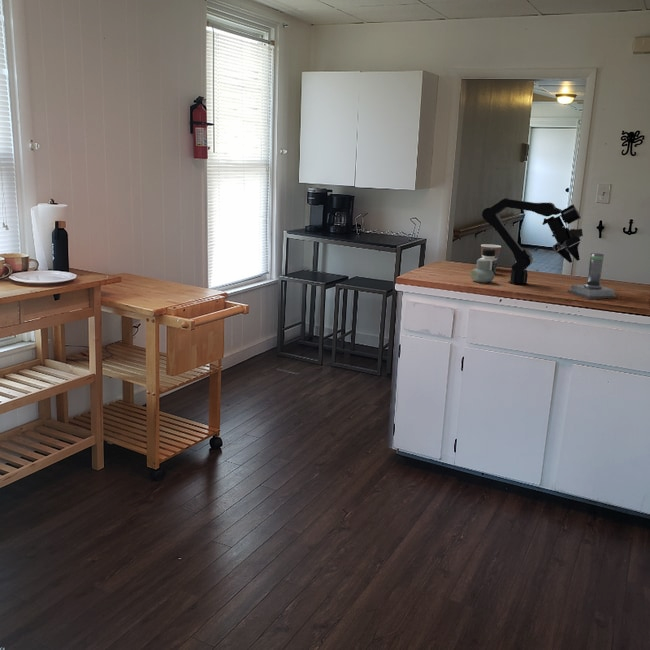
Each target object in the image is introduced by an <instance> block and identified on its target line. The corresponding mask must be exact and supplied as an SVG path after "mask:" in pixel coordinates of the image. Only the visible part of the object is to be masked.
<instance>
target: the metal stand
mask: <svg viewBox="0 0 650 650" xmlns="http://www.w3.org/2000/svg"><path fill="white" fill-rule="evenodd" d="M615 291H616V289H615V288H614V289H613V288H610V287H608V286H607V287H606V286H603V285H602V288H600V289H594V288H587V287H584V284H571V289H568V290H567V293H568V292H569V293H568V294H571V293H572V294H571V295H574V294H575V295H574V296H577V295H578V297H580V296H581V298H583V297H584V299H587V298H588V299H587V300H604V298H616V299H618V295H615ZM602 298H603V299H602Z"/></svg>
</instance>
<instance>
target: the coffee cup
mask: <svg viewBox="0 0 650 650" xmlns="http://www.w3.org/2000/svg"><path fill="white" fill-rule="evenodd" d="M480 246H481V247H480V251H481V253H480V255H481V256H480V258H483V257H482V251H483V249H485V248H489V249H494V250H495V259H497V264H498V263H499V262H498V261H499V259H500V253H501V250H502V249H501V248H502V246H501V245H499V244H491V243H490V244H487V243H485V244H484V243H483V244H480Z"/></svg>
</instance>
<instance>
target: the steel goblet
mask: <svg viewBox="0 0 650 650" xmlns="http://www.w3.org/2000/svg"><path fill="white" fill-rule="evenodd" d="M604 256H605V254H604V253H600V252H591V253H590V258H589V267H588V273H587V282H586V283H584V284H583V285H584V287H587V288H594V289H600V288H602V286H603V285H602V284H601V277H602V273H603V272H602V270H603V265H604V264H603V263H604Z"/></svg>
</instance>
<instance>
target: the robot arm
mask: <svg viewBox="0 0 650 650" xmlns="http://www.w3.org/2000/svg"><path fill="white" fill-rule="evenodd" d="M506 208H510V209H516V210H522V211H528V212H532V213H536V214H537V215H540V216H543V217H548V218H543V222H542V225H546V224H547V226H548V227H549V229H550V231H551V233H552V235H551V237H552V238H554V239H555V240H556V242H557V243H555V244H553V245H552V250H553V252H554V253H556V254H557V255H559V256H560V257H562V258H563V259H564V260H566V261H567V262H568V263H569V264H570V263H572V262H573V259H575V260H576V262H578V261H579V260H580V259H581V258H580V253H579V249H578V247H579V245H580V244H581V241H582V240H581V237H583V236H584V234H583V228H577V229H576V228H573V229H572V228H569V227H566V225H565V224H568V225H570V224H572V223H574V222H575V221H578V220H580V219H582V216H581V214H580V212H579V210H577V208H576V206H575V204H574V203H573V204H571V205H569V206H567V207H566V208H564V209H561V208H558V207H556V204H555V203H553V202H532V201H524V200H519V199H512V198H509V197H505V198H502V199H501V200H499V201H498V202H497V203H495V204H493V205H492V206H490V207H486V208H484V209H483V210H482V213H481V217H482V219H483V220H484V221H485V222H486V223H488V224H489V225H490V226H491V227H493V228H494V229H495V230H496V232H497V233H498V235H499V236H500V237H501V238H502V240H503V241H504V243H505V245H506V246H507V247H508V248H509V249H510V251H511V252H512V254H513V257H514V259H515V261H516V262H515V263H513V265H511V271H510V272H511V273H510V281H509V280H508V283H510V284H512V285H518V286H519V285H520V286H522V285H525V286H526V285H528V283H527V282H528V275H529V274H528V270H527V268H529V266H530V267H531V265H532V264H533V261H534V259H533V257H532V256H533V254H532V253H531V252H530V251H529V249H528V248H523V247H521V246H520V244H519V243H518V241H517V240H516V239H515V238H514V236H513V234H511V232H510V231H509V230H508V227H506V225H505V224H504V223H503V221H502V219H501V216H500V213H501V212H503V211H505V209H506ZM554 215H555V216H556V217H555V216H554ZM557 215H558V216H557ZM572 257H573V259H572Z"/></svg>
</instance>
